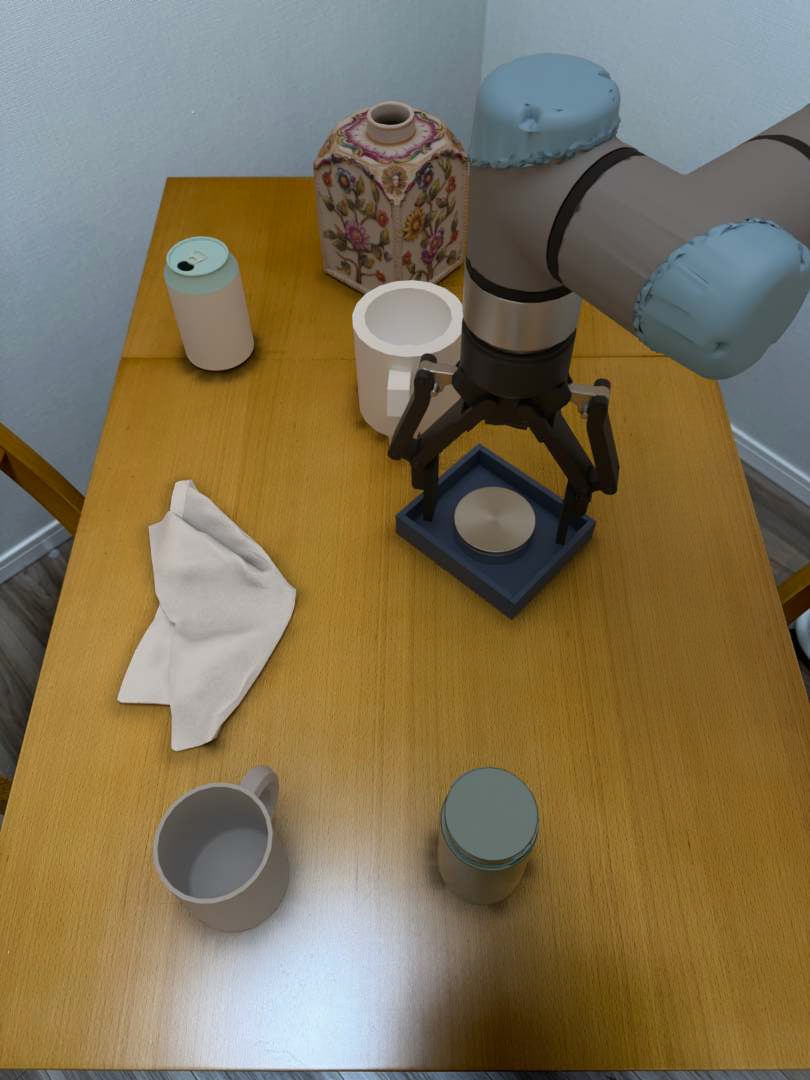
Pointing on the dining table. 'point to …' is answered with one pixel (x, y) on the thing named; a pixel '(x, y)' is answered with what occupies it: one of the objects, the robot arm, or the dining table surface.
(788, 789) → the dining table surface
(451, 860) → the jar
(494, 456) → the tray
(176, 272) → the can
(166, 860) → the cup
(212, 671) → the cloth
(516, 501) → the lid
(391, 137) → the decorative jar
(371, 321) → the mug
